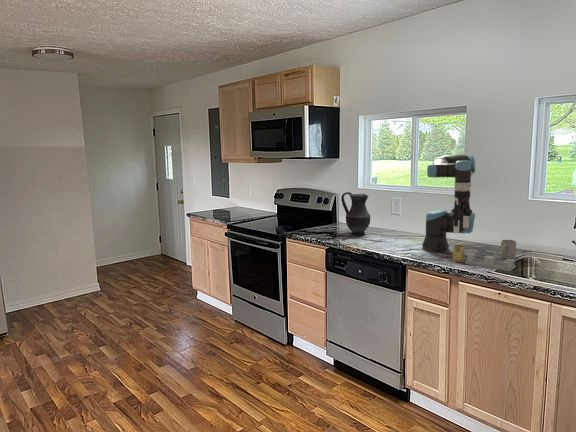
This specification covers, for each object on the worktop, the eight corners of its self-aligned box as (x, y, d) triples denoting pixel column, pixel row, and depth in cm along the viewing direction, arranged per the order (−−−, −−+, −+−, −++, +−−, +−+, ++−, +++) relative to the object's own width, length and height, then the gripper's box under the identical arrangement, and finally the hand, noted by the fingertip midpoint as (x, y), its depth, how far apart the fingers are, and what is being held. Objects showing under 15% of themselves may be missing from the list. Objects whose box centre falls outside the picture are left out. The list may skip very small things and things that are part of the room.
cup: (517, 257, 229) (518, 241, 228) (509, 260, 223) (510, 244, 222) (504, 254, 235) (505, 239, 234) (495, 258, 229) (496, 242, 228)
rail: (464, 263, 220) (465, 255, 219) (471, 260, 227) (471, 251, 226) (510, 271, 205) (511, 262, 204) (516, 267, 212) (516, 258, 211)
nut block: (452, 260, 227) (453, 246, 225) (456, 258, 230) (456, 244, 229) (461, 262, 224) (461, 247, 222) (464, 260, 227) (465, 245, 226)
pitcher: (364, 238, 286) (364, 194, 281) (337, 235, 297) (336, 193, 292) (373, 233, 301) (374, 191, 295) (347, 230, 311) (346, 190, 306)
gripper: (461, 193, 209) (459, 235, 213) (478, 188, 227) (476, 226, 231) (446, 192, 214) (444, 233, 217) (463, 187, 232) (462, 225, 236)
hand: (461, 230), depth 224 cm, fingers open, 13 cm apart
